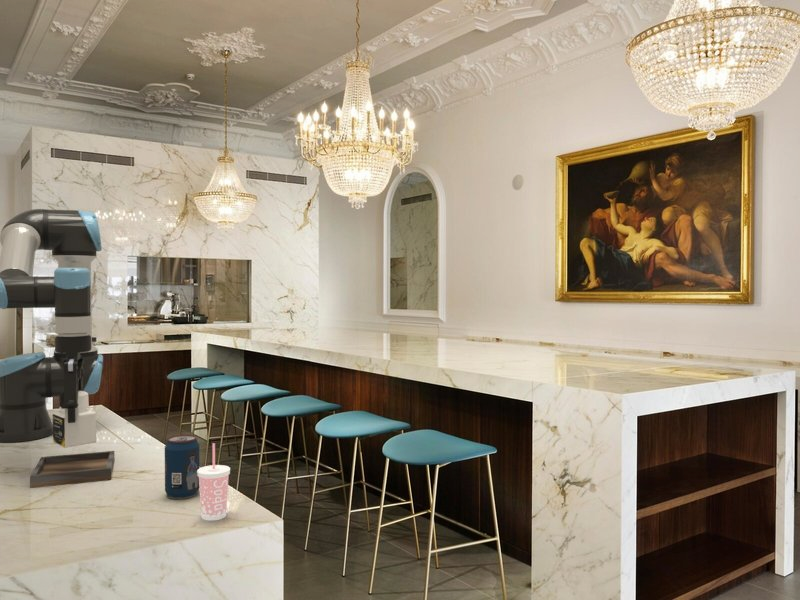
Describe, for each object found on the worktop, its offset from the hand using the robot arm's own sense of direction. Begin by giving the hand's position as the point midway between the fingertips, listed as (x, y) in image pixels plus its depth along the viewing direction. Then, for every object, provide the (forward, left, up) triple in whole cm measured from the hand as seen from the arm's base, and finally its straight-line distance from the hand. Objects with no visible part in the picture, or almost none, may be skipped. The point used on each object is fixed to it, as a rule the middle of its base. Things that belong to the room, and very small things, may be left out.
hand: (74, 431), depth 150 cm
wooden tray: (0, 0, -10) cm, 10 cm away
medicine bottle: (0, 0, -3) cm, 3 cm away
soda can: (+24, +22, -10) cm, 34 cm away
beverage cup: (+39, +27, -10) cm, 49 cm away
